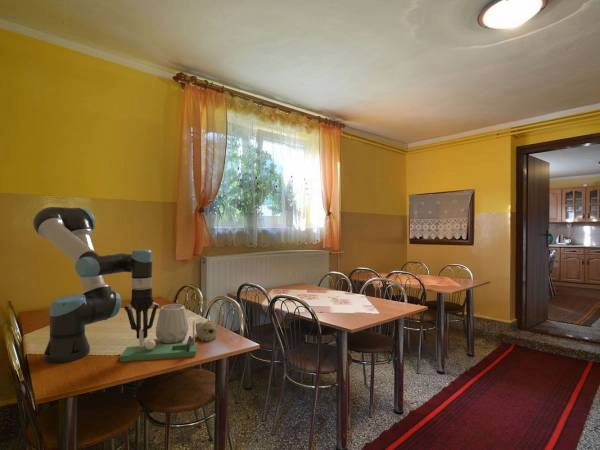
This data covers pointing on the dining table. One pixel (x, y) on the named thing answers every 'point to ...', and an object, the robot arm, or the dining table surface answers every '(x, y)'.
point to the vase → (172, 324)
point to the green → (161, 351)
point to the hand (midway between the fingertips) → (142, 346)
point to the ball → (150, 344)
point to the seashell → (206, 331)
